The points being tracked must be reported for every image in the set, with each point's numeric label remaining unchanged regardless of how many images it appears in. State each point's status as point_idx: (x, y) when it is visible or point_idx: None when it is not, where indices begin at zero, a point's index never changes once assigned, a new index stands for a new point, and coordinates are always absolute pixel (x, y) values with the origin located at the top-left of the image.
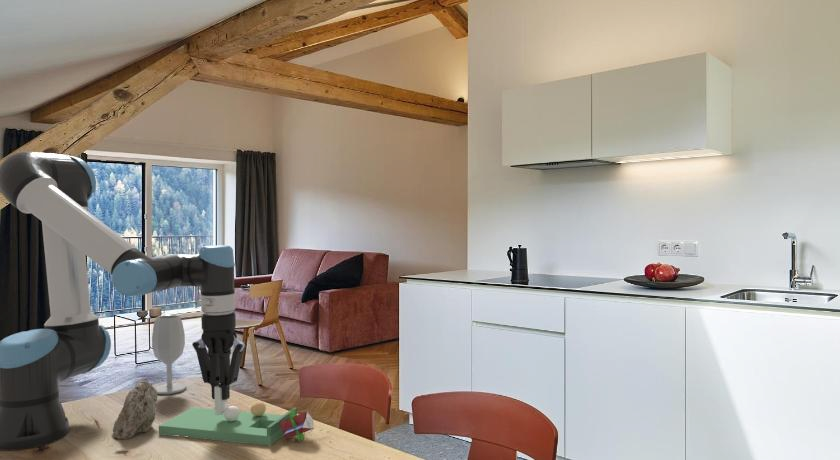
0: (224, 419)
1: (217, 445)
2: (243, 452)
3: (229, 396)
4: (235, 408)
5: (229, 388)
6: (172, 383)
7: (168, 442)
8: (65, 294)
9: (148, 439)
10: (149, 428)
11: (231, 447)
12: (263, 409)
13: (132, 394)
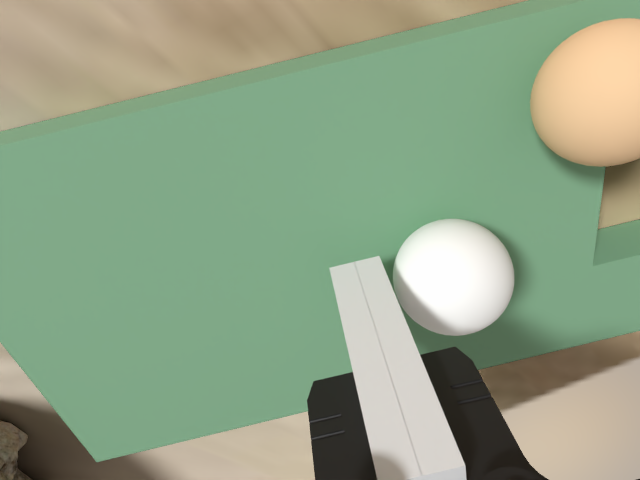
0: (362, 249)
1: None
2: (622, 364)
3: (470, 360)
4: (507, 300)
5: (509, 430)
6: None
7: (246, 440)
8: None
9: (133, 461)
10: (18, 436)
11: (546, 357)
12: None
13: None
